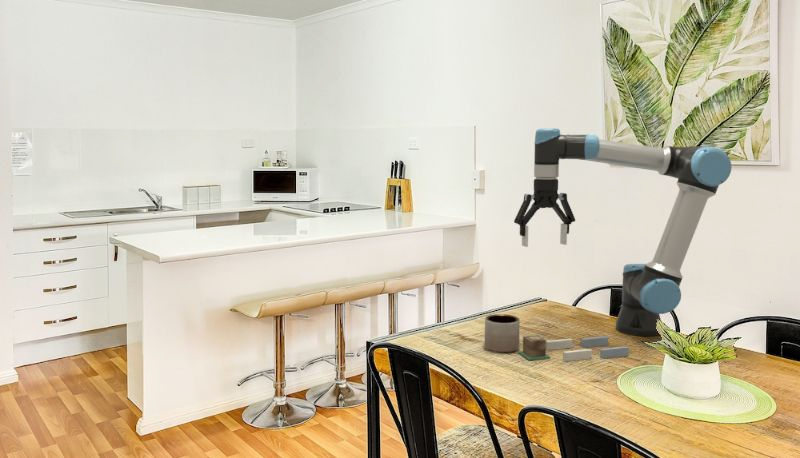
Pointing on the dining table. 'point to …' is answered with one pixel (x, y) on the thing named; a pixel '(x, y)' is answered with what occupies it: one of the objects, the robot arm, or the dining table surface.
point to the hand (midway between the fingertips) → (544, 245)
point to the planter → (502, 333)
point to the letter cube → (534, 346)
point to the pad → (533, 357)
